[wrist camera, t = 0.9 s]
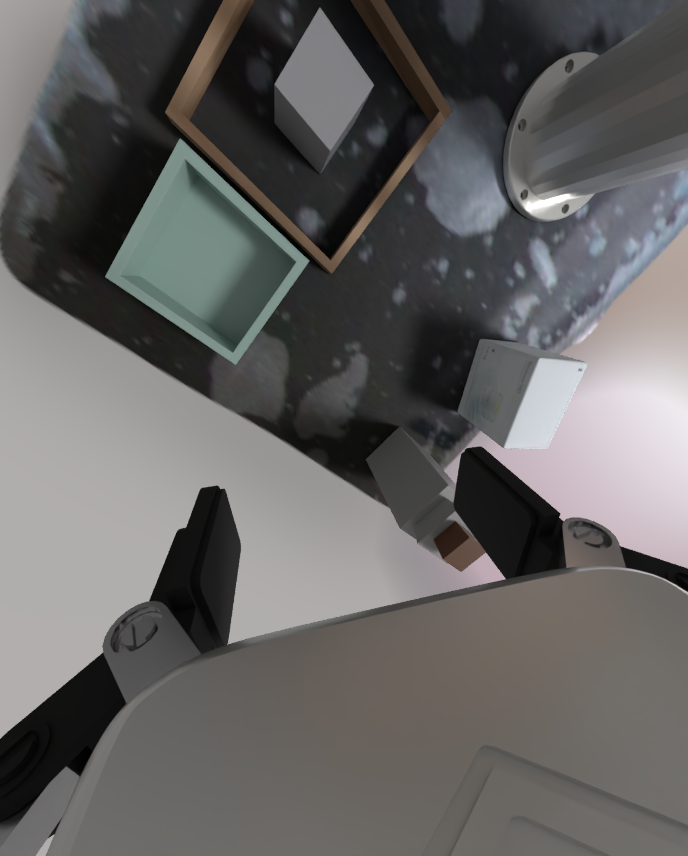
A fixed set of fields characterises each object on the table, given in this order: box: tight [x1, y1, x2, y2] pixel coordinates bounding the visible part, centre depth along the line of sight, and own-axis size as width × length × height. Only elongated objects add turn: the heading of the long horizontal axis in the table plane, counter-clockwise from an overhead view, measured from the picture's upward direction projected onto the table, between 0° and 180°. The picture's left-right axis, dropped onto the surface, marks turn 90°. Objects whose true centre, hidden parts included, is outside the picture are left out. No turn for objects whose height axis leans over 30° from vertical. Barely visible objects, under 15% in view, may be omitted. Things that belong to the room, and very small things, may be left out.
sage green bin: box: [105, 139, 309, 365], centre depth 27 cm, size 12×12×5 cm
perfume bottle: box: [366, 427, 486, 571], centre depth 36 cm, size 7×7×18 cm
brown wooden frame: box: [165, 0, 452, 274], centre depth 25 cm, size 17×17×2 cm
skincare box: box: [457, 339, 588, 449], centre depth 37 cm, size 10×6×10 cm, turn 173°
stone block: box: [274, 8, 374, 174], centre depth 24 cm, size 5×5×6 cm
